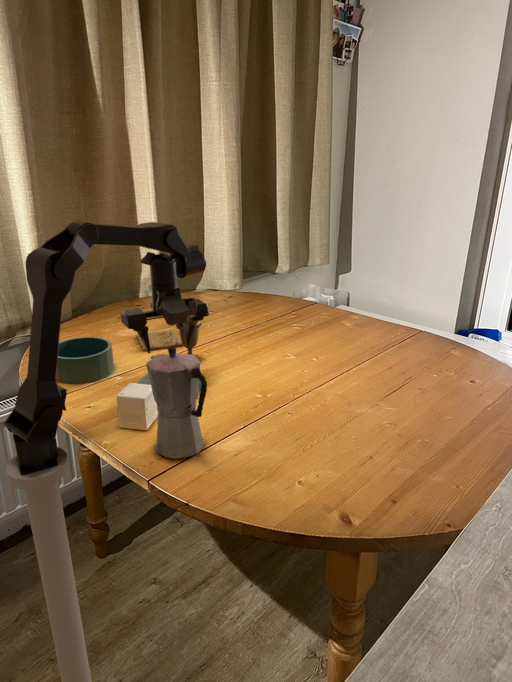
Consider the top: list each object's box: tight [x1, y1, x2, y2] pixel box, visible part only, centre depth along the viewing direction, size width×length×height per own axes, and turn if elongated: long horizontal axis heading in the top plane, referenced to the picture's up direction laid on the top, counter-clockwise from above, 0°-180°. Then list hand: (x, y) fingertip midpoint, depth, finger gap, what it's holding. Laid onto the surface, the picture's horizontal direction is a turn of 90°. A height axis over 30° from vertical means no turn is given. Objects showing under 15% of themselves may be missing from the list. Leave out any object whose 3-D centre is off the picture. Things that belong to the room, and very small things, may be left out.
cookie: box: [136, 329, 183, 351], centre depth 145 cm, size 12×12×1 cm
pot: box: [56, 336, 115, 385], centre depth 124 cm, size 15×15×6 cm
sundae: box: [175, 321, 202, 362], centre depth 130 cm, size 7×7×15 cm
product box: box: [116, 382, 158, 431], centre depth 101 cm, size 6×6×7 cm
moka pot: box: [145, 346, 208, 460], centre depth 91 cm, size 10×15×20 cm, turn 51°
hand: (168, 348), depth 114 cm, fingers open, 9 cm apart
